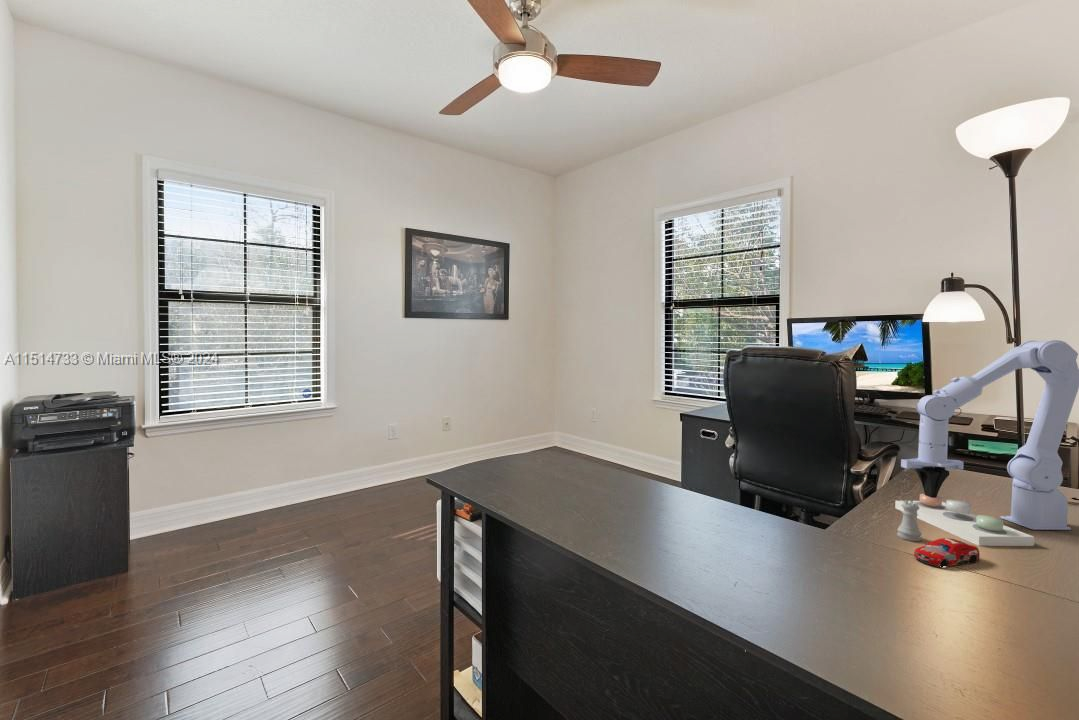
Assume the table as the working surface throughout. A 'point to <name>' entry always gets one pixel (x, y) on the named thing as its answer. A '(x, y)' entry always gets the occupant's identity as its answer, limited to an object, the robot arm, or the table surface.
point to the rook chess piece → (909, 522)
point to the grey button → (958, 506)
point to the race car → (947, 552)
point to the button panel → (969, 527)
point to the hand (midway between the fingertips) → (930, 496)
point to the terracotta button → (931, 501)
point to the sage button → (989, 523)
